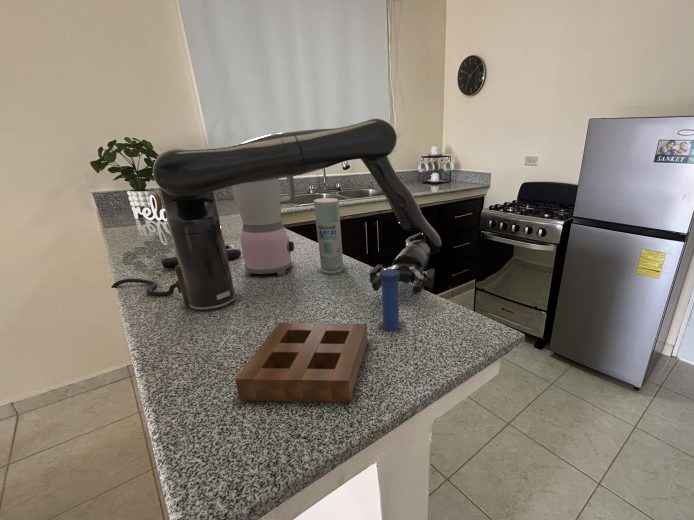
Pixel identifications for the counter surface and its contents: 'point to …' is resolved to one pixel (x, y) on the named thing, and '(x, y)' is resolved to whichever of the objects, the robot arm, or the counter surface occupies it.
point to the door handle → (230, 249)
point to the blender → (264, 226)
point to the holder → (305, 364)
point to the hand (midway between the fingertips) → (394, 288)
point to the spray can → (329, 234)
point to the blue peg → (390, 298)
